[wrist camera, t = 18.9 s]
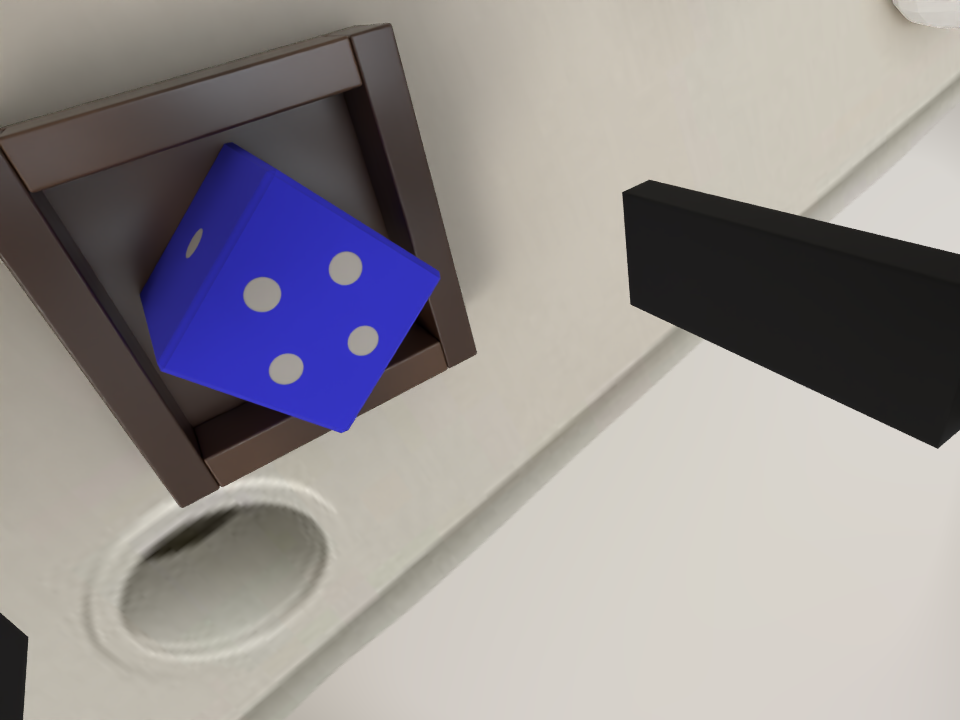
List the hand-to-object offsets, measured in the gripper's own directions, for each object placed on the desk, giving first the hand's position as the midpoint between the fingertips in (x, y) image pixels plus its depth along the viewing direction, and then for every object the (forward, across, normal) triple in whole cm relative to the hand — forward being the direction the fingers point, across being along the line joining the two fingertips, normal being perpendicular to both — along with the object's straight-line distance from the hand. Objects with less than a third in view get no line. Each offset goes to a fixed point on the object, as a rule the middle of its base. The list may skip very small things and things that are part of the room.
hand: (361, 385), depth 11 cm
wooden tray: (+9, 0, 0) cm, 9 cm away
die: (+9, 0, 0) cm, 9 cm away
